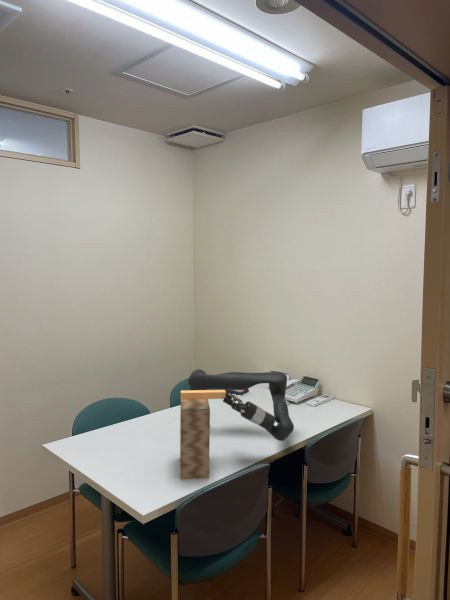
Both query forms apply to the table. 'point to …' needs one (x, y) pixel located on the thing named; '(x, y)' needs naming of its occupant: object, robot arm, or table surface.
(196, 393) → the rod
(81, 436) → the table surface
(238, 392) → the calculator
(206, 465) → the stand
